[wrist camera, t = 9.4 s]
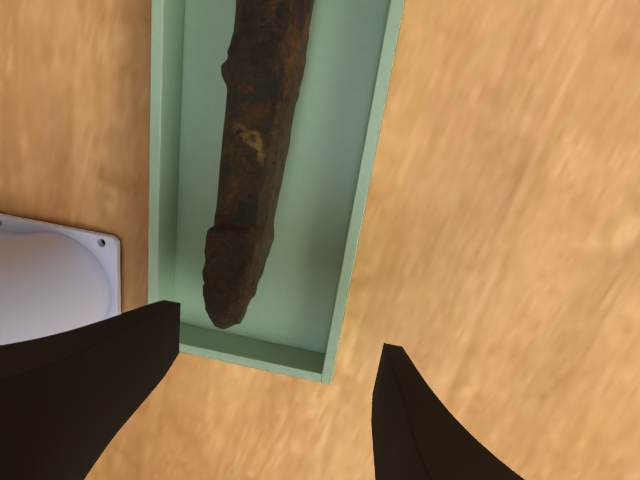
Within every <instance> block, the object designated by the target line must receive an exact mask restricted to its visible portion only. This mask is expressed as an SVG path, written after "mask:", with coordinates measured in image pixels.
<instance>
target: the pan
mask: <svg viewBox="0 0 640 480" xmlns="http://www.w3.org/2000/svg"><path fill="white" fill-rule="evenodd" d="M404 3H405V0H314V4H313V11H312V17H311V22H310V27H309V41H308V45H307V50H306V64H305V69H304V74H303V78H302V82H301V86H300V89H299V97H298V100H297V103H296V106H295V112H294V118H293V122H292V127H291V137H290V145H289V150H288V155H287V159H286V163H285V169H284V174H283V179H282V185H281V189H280V193H279V198H278V203H277V208H276V213H275V218H274V241H273V243H272V246H271V249H270V253H269V256H268V257H267V260H266V263H265V267H264V271H263V274H262V277H261V278H260V279H259V282H258V285H257V292H256V295H255V296H254V297H253V298H252V299H251V300H250V302H249V305H248V307H247V311H246V314H245V316H244V318H243V320H242V322H241V324H237V325H234V326H232V327H229V328H227V329H219V328H218V327H215V326H214V324H213V323H212V321H211V319H210V318H209V317H208V314H207V312H206V310H205V303H204V297H203V285H204V283H205V282H204V280H203V275H202V270H203V268H204V265H205V253H204V249H205V245H206V234H207V231H208V230H209V228H210V227H213V226H214V217H215V212H216V205H217V194H218V182H219V168H220V159H221V150H222V136H223V127H224V119H225V109H226V97H227V86H226V84H225V82H224V80H223V78H222V75H221V65H222V64H223V63H224V62H225V61H226V60H227V58H228V54H227V51H228V48H229V45H230V43H231V38H232V35H233V31H234V22H235V12H236V0H152V4H151V81H150V158H149V235H148V304H151V303H154V302H158V301H162V300H167V301H172V302H178V303H181V306H180V339H179V352H183V353H188V354H192V355H197V356H202V357H206V358H211V359H215V360H220V361H224V362H229V363H234V364H238V365H243V366H247V367H252V368H256V369H261V370H266V371H270V372H275V373H279V374H284V375H289V376H293V377H298V378H302V379H307V380H311V381H316V382H320V381H321V383H325V384H331V380H332V375H333V369H334V364H335V359H336V354H337V349H338V344H339V339H340V333H341V328H342V323H343V318H344V313H345V308H346V302H347V297H348V292H349V287H350V282H351V277H352V271H353V266H354V261H355V256H356V251H357V246H358V241H359V235H360V230H361V225H362V220H363V215H364V210H365V204H366V199H367V194H368V189H369V184H370V179H371V173H372V168H373V163H374V158H375V153H376V148H377V143H378V137H379V132H380V127H381V122H382V117H383V112H384V106H385V101H386V96H387V91H388V86H389V81H390V76H391V70H392V65H393V60H394V55H395V50H396V45H397V39H398V34H399V29H400V24H401V19H402V14H403V8H404Z"/></svg>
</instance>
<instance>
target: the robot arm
mask: <svg viewBox="0 0 640 480" xmlns="http://www.w3.org/2000/svg"><path fill="white" fill-rule="evenodd" d="M0 220H1V221H0V480H84V479H85V477H86V476H87V474H88V473H89V471H90V470H91V468H92V467H93V465H94V464H95V462H96V461H97V460H98V458H99V457H100V455H101V454H102V452H103V451H104V450H105V448H106V447H107V445H108V444H109V442H110V441H111V440H112V439H113V437H114V436H115V435H116V434H117V432H118V431H119V430H120V429H121V427H122V426H123V425H124V424H125V423H126V421H127V420H128V419H129V418H130V417H131V416H132V414H133V413H134V412H135V411H136V410H137V409H138V407H139V406H140V405H141V404H142V403H143V401H144V400H145V399H146V398H147V397H148V396H149V394H150V393H151V392H152V391H153V390H154V388H155V387H156V386H157V385H158V384H159V382H160V381H161V380H162V379H163V377H164V376H165V374H166V373H167V371H168V370H169V368H170V367H171V365H172V364H173V362H174V360H175V359H176V357H177V355H178V354H179V339H180V306H181V303H178V302H172V301H167V300H162V301H158V302H154V303H151V304H148V305H145V306H142V307H139V308H137V309H134V310H131V311H128V312H125V313H122V314H121V275H120V241H119V239H118V238H117V237H116V236H114V235H110V234H105V233H100V232H94V231H89V230H84V229H79V228H74V227H69V226H64V225H58V224H53V223H48V222H43V221H38V220H33V219H27V218H22V217H17V216H12V215H7V214H2V213H0ZM1 222H2V223H1ZM102 239H103V240H104V241H105V244H103V242H102ZM371 423H372V438H373V452H374V465H375V479H376V480H524V479H523V478H522V477H520V476H519V475H518V474H516V473H515V472H514V471H512V470H511V469H510V468H509V467H507V466H506V465H505V464H504V463H502V462H501V461H500V460H499V459H498V458H496V457H495V456H494V455H493V454H492V453H491V452H490V451H488V450H487V449H486V448H485V447H484V446H483V445H482V444H481V443H479V442H478V441H477V440H476V439H475V438H474V437H473V436H472V435H471V434H470V433H469V432H468V431H467V430H466V429H465V428H464V427H463V426H462V425H461V424H460V423H459V422H458V421H457V420H456V419H455V418H454V417H453V415H452V414H451V413H450V412H449V411H448V410H447V409H446V407H445V406H444V405H443V404H442V403H441V401H440V400H439V399H438V398H437V396H436V395H435V394H434V393H433V391H432V390H431V389H430V387H429V386H428V385H427V383H426V382H425V380H424V379H423V378H422V376H421V375H420V373H419V372H418V370H417V369H416V367H415V366H414V364H413V363H412V361H411V359H410V358H409V356H408V355H407V353H406V352H405V350H404V349H403V347H401V346H396V345H391V344H386V343H384V345H383V350H382V354H381V359H380V363H379V368H378V372H377V377H376V381H375V386H374V390H373V398H372V420H371Z"/></svg>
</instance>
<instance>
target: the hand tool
mask: <svg viewBox="0 0 640 480" xmlns="http://www.w3.org/2000/svg"><path fill="white" fill-rule="evenodd" d="M313 4H314V0H236V12H235V22H234V31H233V35H232V38H231V43H230V45H229V48H228V51H227V54H228V58H227V60H226V61H225V62H224V63H223V64H222V65H221V75H222V78H223V80H224V82H225V84H226V86H227V97H226V109H225V119H224V127H223V136H222V150H221V159H220V168H219V182H218V194H217V205H216V212H215V217H214V226H213V227H210V228H209V230H208V231H207V234H206V245H205V249H204V253H205V265H204V268H203V270H202V275H203V280H204V282H205V283H204V285H203V297H204V303H205V310H206V312H207V314H208V317H209V318H210V319H211V321H212V323H213V324H214V326H215V327H218V328H219V329H227V328H229V327H232V326H234V325H237V324H241V322H242V320H243V318H244V316H245V314H246V311H247V307H248V305H249V302H250V300H251V299H252V298H253V297H254V296H255V295H256V292H257V285H258V282H259V279H260V278H261V277H262V274H263V271H264V267H265V263H266V260H267V257H268V256H269V253H270V249H271V246H272V243H273V241H274V218H275V213H276V208H277V203H278V198H279V193H280V189H281V185H282V179H283V174H284V169H285V163H286V159H287V155H288V150H289V145H290V137H291V127H292V122H293V118H294V112H295V106H296V103H297V100H298V97H299V89H300V86H301V82H302V78H303V74H304V69H305V64H306V50H307V45H308V41H309V27H310V22H311V17H312V11H313Z"/></svg>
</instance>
